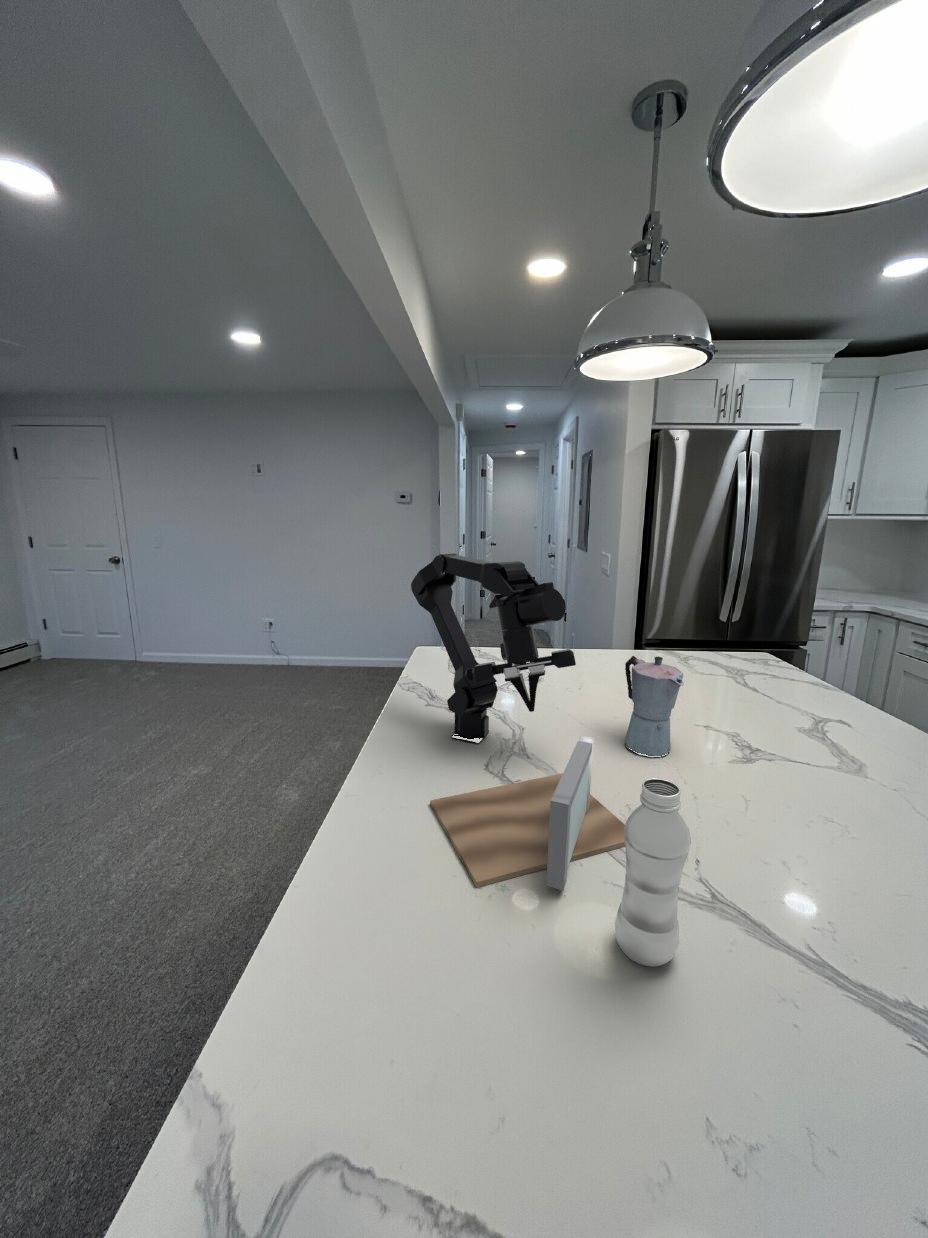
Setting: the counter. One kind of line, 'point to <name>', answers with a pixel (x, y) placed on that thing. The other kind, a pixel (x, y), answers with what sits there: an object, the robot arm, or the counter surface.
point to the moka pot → (651, 705)
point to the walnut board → (517, 829)
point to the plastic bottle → (653, 875)
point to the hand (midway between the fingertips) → (532, 711)
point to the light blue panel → (568, 811)
